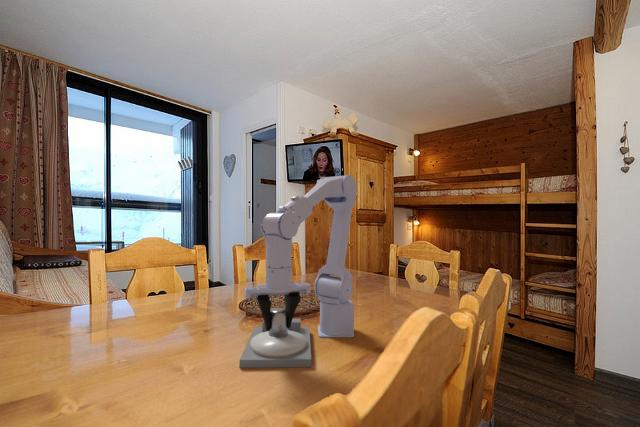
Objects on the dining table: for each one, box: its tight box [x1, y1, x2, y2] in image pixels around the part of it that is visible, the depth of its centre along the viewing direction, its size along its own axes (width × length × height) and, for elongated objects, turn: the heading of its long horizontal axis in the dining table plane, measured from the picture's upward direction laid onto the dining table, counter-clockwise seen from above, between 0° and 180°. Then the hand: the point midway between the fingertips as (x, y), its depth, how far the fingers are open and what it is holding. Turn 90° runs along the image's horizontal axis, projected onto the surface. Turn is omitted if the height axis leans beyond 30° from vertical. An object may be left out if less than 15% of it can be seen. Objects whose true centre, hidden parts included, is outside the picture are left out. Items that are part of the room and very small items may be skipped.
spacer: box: [268, 307, 287, 337], centre depth 64 cm, size 4×4×5 cm
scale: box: [238, 318, 312, 369], centre depth 71 cm, size 15×19×4 cm
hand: (277, 327), depth 64 cm, fingers closed on spacer, 4 cm apart
